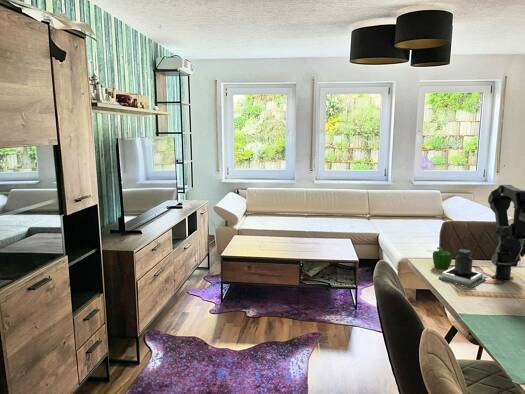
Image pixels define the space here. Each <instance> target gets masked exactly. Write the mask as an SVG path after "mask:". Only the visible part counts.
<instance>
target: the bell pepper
mask: <svg viewBox="0 0 525 394" xmlns="http://www.w3.org/2000/svg"><path fill="white" fill-rule="evenodd" d="M436 248H437V249H436V250H433V252H432V261H433V265H434V267H435V268H436V269H442V270H449V269H450V268H451V267H450V266H451V263H452V260H453V255H452V253H450V252H449V251H448V250H445V251H444V249H443V248H442V247H436Z"/></svg>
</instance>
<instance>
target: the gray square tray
mask: <svg viewBox="0 0 525 394" xmlns="http://www.w3.org/2000/svg"><path fill="white" fill-rule="evenodd" d="M454 267H455V266H453V267H450V268H448V269H445V271H443V272H441V273H442V274H441V275H440V276H438V280H441V281H445V282H448V283H451V282H453V283H452V284H455V283H457V284H456V285H458V284H460V285H459V286H462V285H463V286H462V287H465V286H467V287H466V288H469V287H473V288H474V286H475V285H476V286H478V285H479V283H480V282H481V283H483V282H485V281H486V280H487V279H486V277H484V276H483V274H484V273H482V272H478V271H475V270H472V273H471V278H470V279H468V278H464V277H460V276H457V275H454ZM484 280H485V281H484ZM482 281H483V282H482ZM481 283H480V284H481ZM477 284H478V285H477ZM476 286H475V287H476Z"/></svg>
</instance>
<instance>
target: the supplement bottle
mask: <svg viewBox="0 0 525 394" xmlns="http://www.w3.org/2000/svg"><path fill="white" fill-rule="evenodd" d="M457 254H458V255H456V256H455V259H454V266H453V267H454V275H457V276H460V277H464V278H468V279H470V278H471V273H472V271H473V262H474V261H473V258H472V257H471V256H472V252H471V250H468V249H463V248H461V249H458V252H457Z"/></svg>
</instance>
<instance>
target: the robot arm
mask: <svg viewBox="0 0 525 394" xmlns="http://www.w3.org/2000/svg"><path fill="white" fill-rule="evenodd" d="M487 202H488V204H489V208H490V210H491V211H492V212H493V213H494V217H495V224H496V228H495V232H494V233H495V234H497V240H498V241H497V242H498V244H497V246H496V248H495V252H494V254H493V255H492V257H491V263H492V264H493V265H494V266H495V274H493V275H492V276H491V277H492V278H493V279H496V280H500V281H503V282H509V281H511V280H512V279H514V277H513V276H511V273H512V267H515V268H516V267H517V266H518V263H519V260H520V258H524V256H525V190H522V189H520V188H518V187H516V186H513V185H512V184H500V185H498V187H497V188H495V189H494V190H492V191H491V192H490V194H489V196H488V199H487ZM511 202H512V203H513V209H514V210H513V211H514V212H513V219H512V223H509V215H508V210H509V209H510V208H511V207H510V206H511Z"/></svg>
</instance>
